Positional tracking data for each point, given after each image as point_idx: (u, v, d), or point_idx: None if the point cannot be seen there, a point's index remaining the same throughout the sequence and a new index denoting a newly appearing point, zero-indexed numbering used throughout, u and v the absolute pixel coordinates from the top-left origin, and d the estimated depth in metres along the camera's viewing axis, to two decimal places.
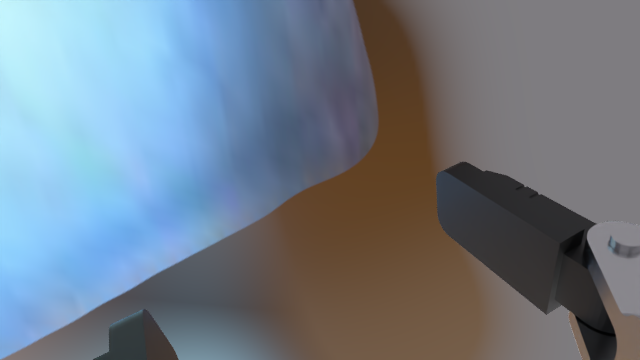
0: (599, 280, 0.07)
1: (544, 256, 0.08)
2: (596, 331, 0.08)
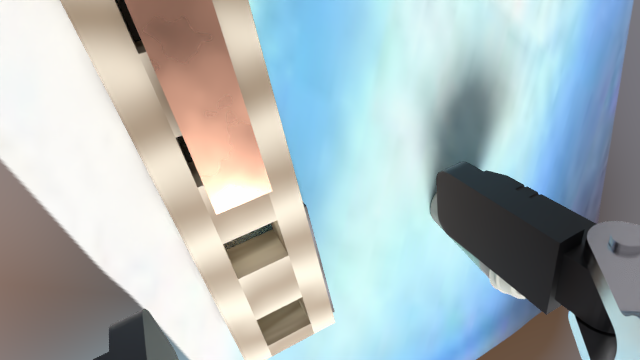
0: (599, 280, 0.07)
1: (544, 256, 0.08)
2: (596, 331, 0.08)
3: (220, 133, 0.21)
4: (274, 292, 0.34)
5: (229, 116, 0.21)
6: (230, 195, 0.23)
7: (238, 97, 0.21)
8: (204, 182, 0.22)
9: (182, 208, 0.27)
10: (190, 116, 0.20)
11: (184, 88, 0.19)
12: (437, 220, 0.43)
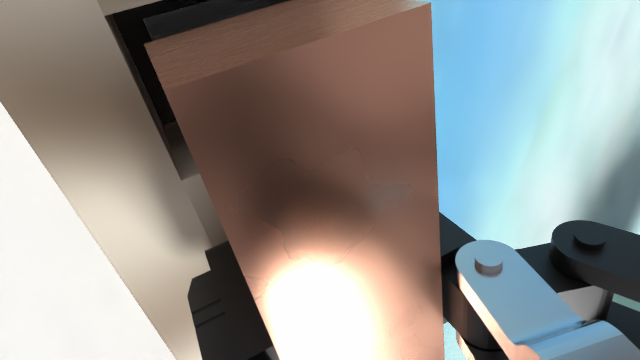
0: (480, 308, 0.07)
1: None
2: (485, 351, 0.08)
3: None
4: None
5: (407, 343, 0.09)
6: None
7: (433, 304, 0.08)
8: None
9: None
10: None
11: (322, 317, 0.07)
12: None
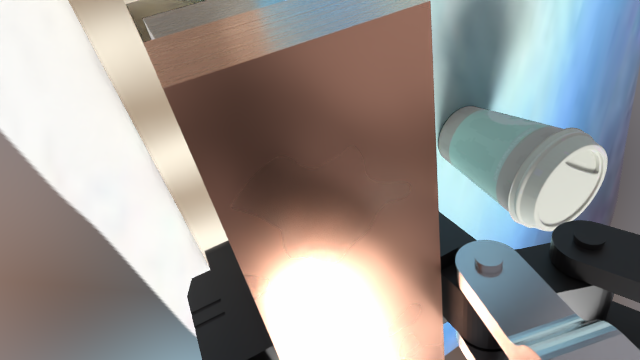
0: (480, 308, 0.07)
1: None
2: (486, 351, 0.08)
3: None
4: None
5: (407, 342, 0.09)
6: None
7: (433, 303, 0.08)
8: None
9: (140, 102, 0.22)
10: None
11: (322, 316, 0.07)
12: (446, 154, 0.38)
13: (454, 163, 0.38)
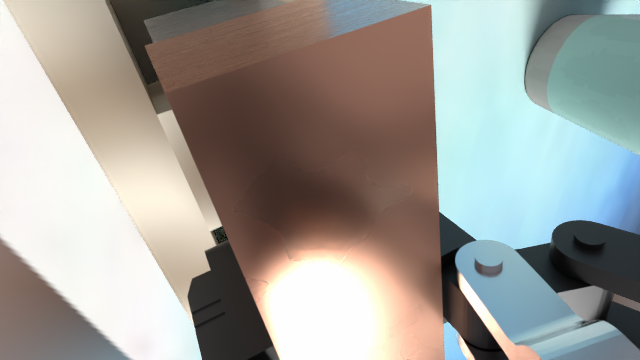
0: (480, 308, 0.07)
1: None
2: (486, 351, 0.08)
3: None
4: None
5: (407, 344, 0.09)
6: None
7: (433, 305, 0.08)
8: None
9: None
10: None
11: (322, 319, 0.07)
12: (541, 88, 0.25)
13: (556, 100, 0.24)
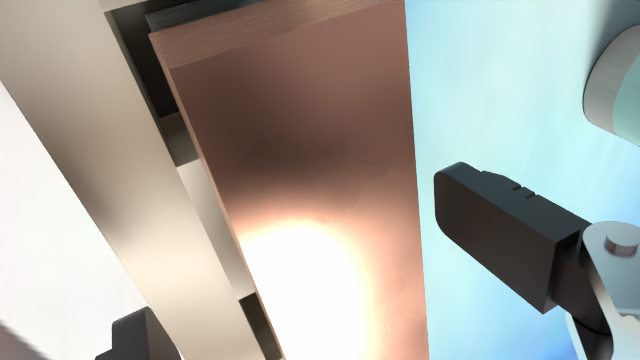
0: (595, 280, 0.07)
1: (540, 256, 0.08)
2: (593, 331, 0.08)
3: (368, 348, 0.09)
4: None
5: (391, 314, 0.09)
6: None
7: (415, 277, 0.09)
8: None
9: None
10: (315, 335, 0.08)
11: (311, 285, 0.08)
12: (605, 108, 0.22)
13: (624, 122, 0.21)
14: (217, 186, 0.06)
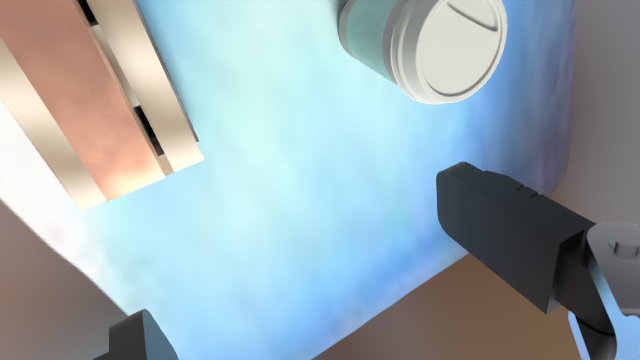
0: (599, 280, 0.07)
1: (544, 256, 0.08)
2: (596, 331, 0.08)
3: (98, 120, 0.22)
4: None
5: (105, 104, 0.22)
6: (119, 182, 0.24)
7: (111, 85, 0.21)
8: (89, 169, 0.23)
9: None
10: (62, 104, 0.21)
11: (51, 77, 0.20)
12: (346, 43, 0.34)
13: (353, 50, 0.33)
14: None
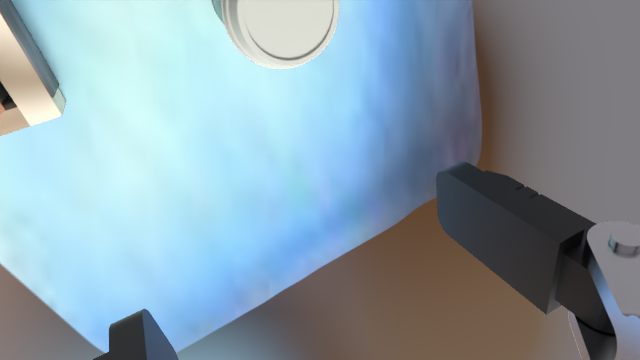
0: (599, 280, 0.07)
1: (544, 256, 0.08)
2: (596, 331, 0.08)
3: None
4: None
5: None
6: None
7: None
8: None
9: None
10: None
11: None
12: (216, 12, 0.35)
13: (220, 19, 0.34)
14: None
